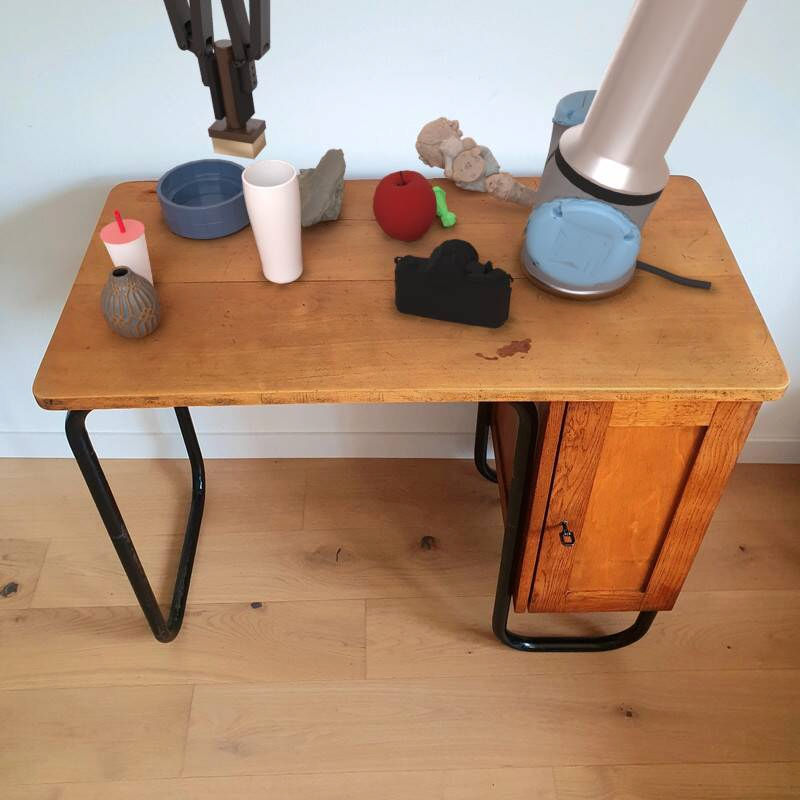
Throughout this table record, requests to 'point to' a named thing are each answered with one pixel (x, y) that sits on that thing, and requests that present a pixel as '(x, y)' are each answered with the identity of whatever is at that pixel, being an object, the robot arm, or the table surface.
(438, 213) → the game piece
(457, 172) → the figurine
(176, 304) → the table surface
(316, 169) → the grey rock
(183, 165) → the bowl
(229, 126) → the brush
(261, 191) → the drinking glass
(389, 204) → the apple
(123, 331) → the vase
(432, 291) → the film camera
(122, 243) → the cup
